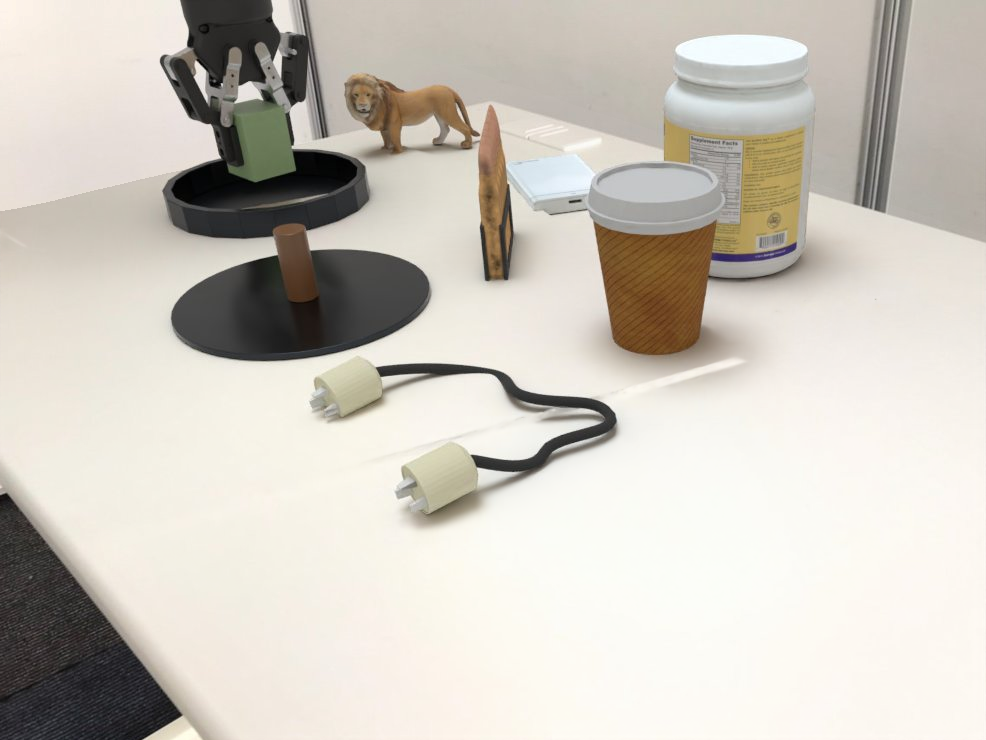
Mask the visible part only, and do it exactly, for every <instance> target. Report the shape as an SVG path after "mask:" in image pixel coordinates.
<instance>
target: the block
mask: <svg viewBox="0 0 986 740" xmlns="http://www.w3.org/2000/svg"><path fill="white" fill-rule="evenodd" d="M232 125H234V126H236V127H237V132H238V136H239V141H240V146H241V150H242V155H243V159H244V165H243V166H240V167H234V166H231V165H229V164H227V166H228V170H229V173H232V174H235V175H237V176H240V177H243V178H245V179H248V180H250V181H253V182H257V181H261V180H265V179H268V178H272V177H275V176H279V175H282V174H286V173H290V172H293V171H296V167H295V162H294V157H293V152H292V149H293V148H292V147H293V146H291V141H290V136H289V131H288V126H287V120H286V115H285V110H284V107H283V106H280V105H277V104H273V103H270V102H267V101H264V100H263V99H260V98H253V99H249V100H245V101H240V102H235V103H234V117H233V124H232Z"/></svg>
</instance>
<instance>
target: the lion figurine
mask: <svg viewBox="0 0 986 740" xmlns="http://www.w3.org/2000/svg"><path fill="white" fill-rule="evenodd" d="M343 93H344V94H343V95H344V98H345V105H346V108H347V110H348V113H349V114H350V116H351V117H352V118H353V119H354V120H355V121H358V122H361V123H362V124H364V125H365V126H366V128H368V129H369V130H370V131H373V132H379V133H380V136H381V138H382V141H383V145H382V146H381V147H380V150H390V149H393V151H391V152H390V153H389V155H392V156H397V155H400V154H403V146H402V145H403V144H402V140H401V137H402V129H403V127H414V126H419V125H421V124H424V123H425V122H427V121H428V120H430V119H431V118H432V117H434V118H435V120H436V122H437V124H438V126H439V130H440V131H439V135H438V136H437V137H433V139H432V144H433V145H442V144H444V143H445V141H446V138H447V137H448V136H449V133H450V131H451V129H450V128H452V129H454V130H455V131H457V132H458V133H461V134H462V135H463V136H464V140H462V141H461V142H460V147H461V148H463V149H469V148H472V146H473V137H476V138H478V137H481V133H479V132H478V130H475V129H474V128H473V127H472V125H471V121H470V118H469V115H468V112H467V109H466V106H465V104H464V102H463V99H462V98H461V97H460V95H459V94H458V93H457V91H455V90H454V89H453V88H451V87H449V86H447V85H442V84H433V85H430V86H429V85H428V86H427V87H424V88H421V89H416V90H409V91H405V90H404V89H401V88H399V87H397V86H396V85H395V84H393V83H392V82H390V81H389V80H383V79H382V78H381V79H380V78H377V76H375V75H372V74H370V73H366V72H358V73H355V74H351V76H350V77H348V78H347V81H346V82H344V92H343ZM457 107H458V108H457ZM458 109H459V110H458ZM458 111H460V113H461V116H460V115H459V112H458ZM461 117H462V118H463V119H462V118H461Z"/></svg>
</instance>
